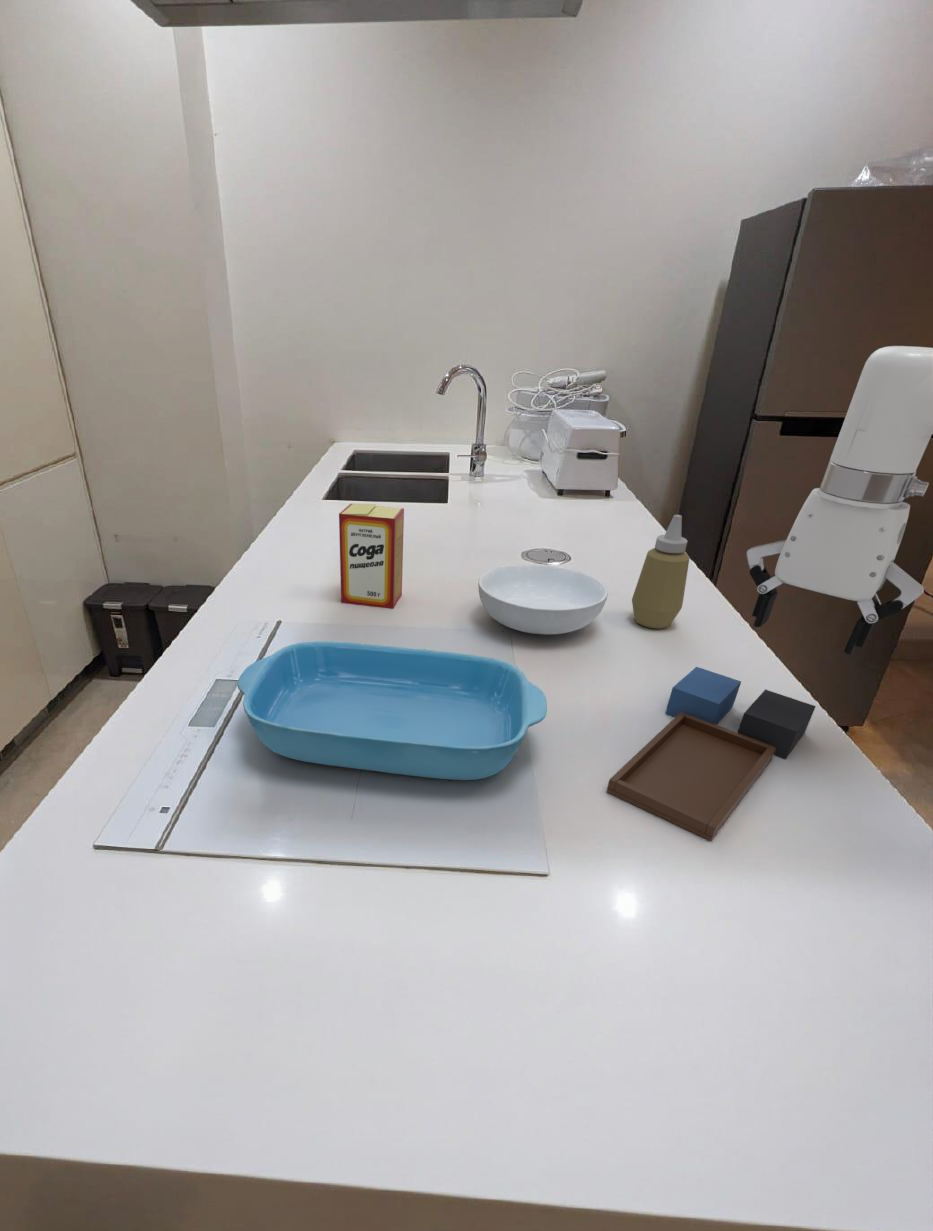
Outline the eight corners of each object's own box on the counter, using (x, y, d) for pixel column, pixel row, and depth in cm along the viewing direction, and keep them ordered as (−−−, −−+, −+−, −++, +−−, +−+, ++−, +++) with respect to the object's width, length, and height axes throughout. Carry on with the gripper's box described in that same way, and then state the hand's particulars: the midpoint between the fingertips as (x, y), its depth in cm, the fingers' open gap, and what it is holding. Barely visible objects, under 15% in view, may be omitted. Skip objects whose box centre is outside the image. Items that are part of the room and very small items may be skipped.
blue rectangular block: (732, 707, 91) (741, 681, 89) (710, 730, 86) (719, 703, 84) (689, 691, 94) (696, 666, 92) (665, 713, 89) (672, 687, 87)
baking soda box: (401, 594, 122) (404, 506, 114) (393, 608, 117) (394, 516, 108) (351, 589, 124) (350, 501, 116) (341, 602, 119) (338, 511, 110)
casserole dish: (537, 702, 91) (544, 655, 87) (542, 808, 72) (552, 753, 68) (273, 678, 95) (269, 632, 91) (215, 772, 76) (206, 719, 73)
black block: (804, 732, 86) (815, 706, 84) (785, 759, 81) (797, 731, 78) (755, 715, 89) (765, 689, 87) (734, 739, 84) (744, 712, 82)
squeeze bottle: (628, 629, 111) (652, 520, 102) (626, 610, 118) (648, 507, 108) (679, 635, 110) (709, 525, 100) (674, 615, 116) (701, 511, 107)
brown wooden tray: (772, 759, 81) (776, 747, 80) (710, 841, 68) (715, 828, 67) (677, 723, 87) (681, 711, 86) (606, 792, 75) (609, 779, 74)
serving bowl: (621, 620, 114) (629, 582, 111) (563, 663, 101) (571, 621, 97) (515, 589, 125) (519, 553, 122) (450, 625, 112) (453, 585, 108)
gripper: (971, 495, 66) (895, 651, 75) (785, 464, 76) (738, 606, 85) (961, 509, 61) (881, 673, 71) (763, 474, 71) (716, 623, 80)
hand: (803, 636), depth 78 cm, fingers open, 9 cm apart
